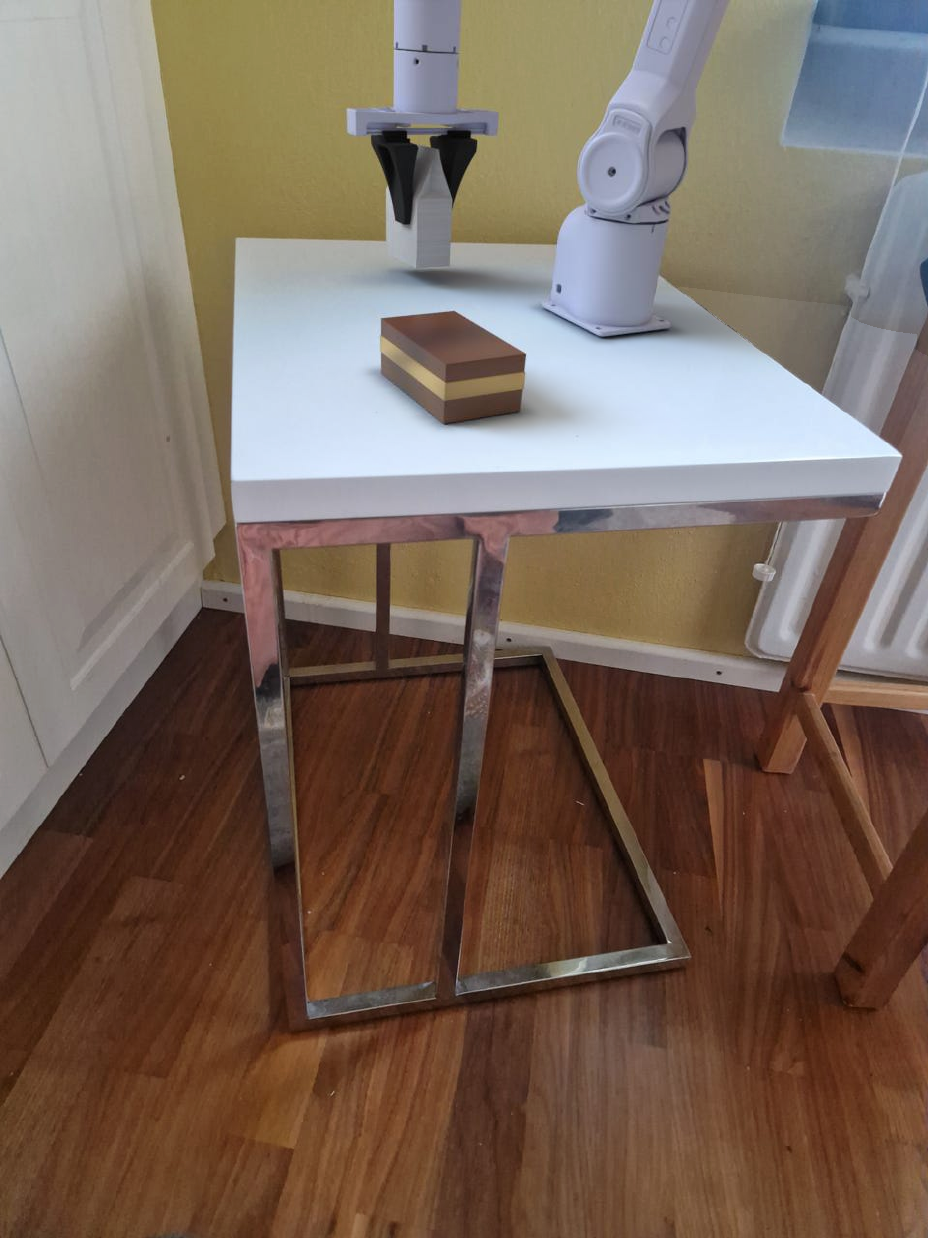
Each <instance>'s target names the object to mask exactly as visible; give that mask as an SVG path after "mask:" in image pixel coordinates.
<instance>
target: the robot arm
mask: <svg viewBox="0 0 928 1238" xmlns="http://www.w3.org/2000/svg"><path fill="white" fill-rule="evenodd" d="M730 1H731V0H653V3H652V5H651V6H652V7H651V9H650V12H649V14H648V15H649V16H648V18H647V22H646V25H645V27H644V31H643V33H642V36H641V40H640V43H639V45H638V49H637V52H636V55H635V57H634V61H633V65H632V67H631V69H630V71H629V73H628V75H627V77H626V78H625V79H624V80H623V81H622V84H620V86H619V87H618V89H617V90H616V92H615V93H614V94H613V96H612V97H611V99H610V101H609V102H608V104H607V107H606V111H605V114H604V116H603V119H602V122H601V123H600V126H599V127H598V128H597V129H596V131H595V132H594V133H592V135H591V136H590V137H589V139H588V140H586V142H585V144H584V145H583V147H582V149H581V151H580V154H579V158H578V160H577V161H578V162H577V167H576V176H577V177H576V178H577V184H578V188H579V192H580V193H581V197H583V200H584V201H585V202H584V204H582V205H579V206H577V207H575V208H574V209H573V210H572V211H570V212H569V213H568V215H567V216H566V217H565V218H564V221H562V224H561V226H560V228H559V230H558V231H559V232H558V235H557V241H556V250H555V258H554V264H553V266H554V267H553V275H552V282H551V283H552V285H551V292H550V300H544V301H542V303H541V306H542V308H544V309H546V310H547V311H550V312H552V313H553V314H555V315H558V316H559V317H561V318H563V319H565V320H567V321H569V322H571V323H573V324H575V325H577V326H579V327H580V328H583V329H584V330H586V331H588V332H591V333H592V334H593V335H594V334H595V335H597V336H598V337H610V336H617V335H625V334H635V333H643V332H649V331H658V330H665V329H670V328H671V326H672V323H671V322H670V321H668V320H666V319H664V318H662V317H660V316H658V315H655V314H653V307H654V302H655V297H656V291H657V287H658V282H659V275H660V271H661V266H662V261H663V255H664V251H665V246H666V245H665V244H666V239H667V234H668V229H669V225H670V218H671V214H672V209H671V203H670V196H671V195H672V194H674V193H675V192H676V191H677V190H678V188H680V187H681V184H682V183H683V181H684V179H685V177H686V174H687V171H688V166H689V159H690V155H689V153H690V152H689V140H690V135H691V132H692V128H693V126H694V124H695V122H696V118H697V104H696V103H697V101H696V91H697V88H698V85H699V83H700V80H701V77H702V74H703V72H704V69H705V66H706V64H707V62H708V58H709V55H710V54H711V51H712V48H713V45H714V42H715V40H716V37H717V35H718V32H719V30H720V27H721V24H722V22H723V19H724V17H725V14H726V11H727V8H728V6H729V3H730ZM462 2H463V1H462V0H393V106H386V107H383V106H382V107H363V108H360V107H357V108H356V107H355V108H354V107H353V108H351V107H349V108H346V130H347V131H346V133H347V134H348V135H350V136H351V135H352V136H354V137H367V136H370V144H371V147H372V149H373V151H374V153H375V155H376V157H377V160H378V162H379V164H380V167H381V170H382V172H383V175H384V177H385V181H386V184H387V185H388V188H389V191H390V196H391V200H392V205H393V210H394V216H395V221H397V222H399V223H401V224H403V225H409V224H410V221H411V214H412V185H413V176H414V169H415V163H416V157H417V153H418V149H419V147H418V146H417V145H416V144H417V143H414V144H413V142H411V138H410V137H409V138H408V136H430V137H429V145H430V146H429V147H430V148H435V149H439V155H440V161H441V165H442V169H443V173H444V176H445V179H446V182H447V185H448V188H449V191H450V194H451V197H452V210H453V208H454V205H455V201H456V197H457V194H458V192H459V188H460V186H461V183H462V180H463V178H464V175H466V174H465V173H466V171H467V170H468V168H469V165H470V164H471V162H472V160H473V158H474V156H475V155H476V153H477V149H478V139H477V138H476V139H475V138H472V136H474V135H475V136H478V135H479V136H480V135H481V136H482V135H483V136H488V137H497V136H498V132H499V131H498V130H499V116H500V115H499V114H500V113H499V112H498V111H495V110H491V109H472V108H471V109H470V108H458V96H459V93H458V92H459V74H460V73H459V72H460V45H461V26H462V25H461V22H462V18H461V17H462ZM412 124H413V125H434V126H435V125H437V126H438V125H439V126H444V127H412Z"/></svg>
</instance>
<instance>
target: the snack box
mask: <svg viewBox="0 0 928 1238" xmlns="http://www.w3.org/2000/svg"><path fill="white" fill-rule="evenodd" d="M379 351H380V373H381V375H383V376H384V377H385V378H386V379H388V380H389V381H390V382H391V383H392V384H394V385H395V386H396V387H398V388H399V389H400V390H401V391H402V392H404V393H405V394H406V395H408V397H410V398H411V399H412V400H413V401H415V402H416V403H417V404H418V405H420V406H421V407H422V408H423V409H425V410H426V411H427V412H428V413H429V414H431V415H432V416H433V417H434V418H435V419H436V420H438V421H439V422H441V423H442V424H443V425H446V424H451V423H458V422H465V421H469V420H477V419H481V418H483V419H484V418H489V417H494V416H500V415H505V414H506V415H507V414H512V413H519V412H521V410H522V409H521V407H522V397H523V390H524V389H525V388H524V387H525V380H526V371H525V368H526V358H527V353H525V352H524V351H522V350H520V349H519V348H517V347H515V346H514V345H512V344H510V343H509V342H507V341H505V340H504V339H502V338H500V337H499V336H497V335H496V334H494V333H492V332H490V331H489V330H487V329H485V328H484V327H482V326H481V325H479V324H478V323H475V322H474V321H473V320H471V319H469V318H468V317H465V316H464V315H462V314H461V313H459V312H457V311H456V310H449V311H448V310H447V311H440V312H439V311H438V312H428V313H420V314H408V315H399V316H398V315H397V316H388V317H381V318H380V334H379Z"/></svg>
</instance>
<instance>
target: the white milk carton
mask: <svg viewBox="0 0 928 1238" xmlns="http://www.w3.org/2000/svg"><path fill="white" fill-rule="evenodd" d="M412 143H413V142H412ZM413 144H416V145H417V146H418V147H419V149H418V153H417V157H416V163H415V169H414V176H413V185H412V214H411V221H410V224H409V225H403V224H401V223H399V222H397V221H395V216H394V210H393V205H392V200H391V196H390V191H389V188H388V184H387V185H386V188H385V255H387V256H389V257H391V258H393V259H395V260H397V261H400V262H402V263H403V264H406V265H408V266H410V267H412V268H414V269H428V268H430V269H431V268H443V267H450V266H451V243H452V219H453V218H452V216H453V209H452V197H451V194H450V191H449V188H448V185H447V182H446V179H445V176H444V173H443V169H442V165H441V161H440V155H439V149H435V148H431V146H425V145H423V144H417V143H413Z"/></svg>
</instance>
